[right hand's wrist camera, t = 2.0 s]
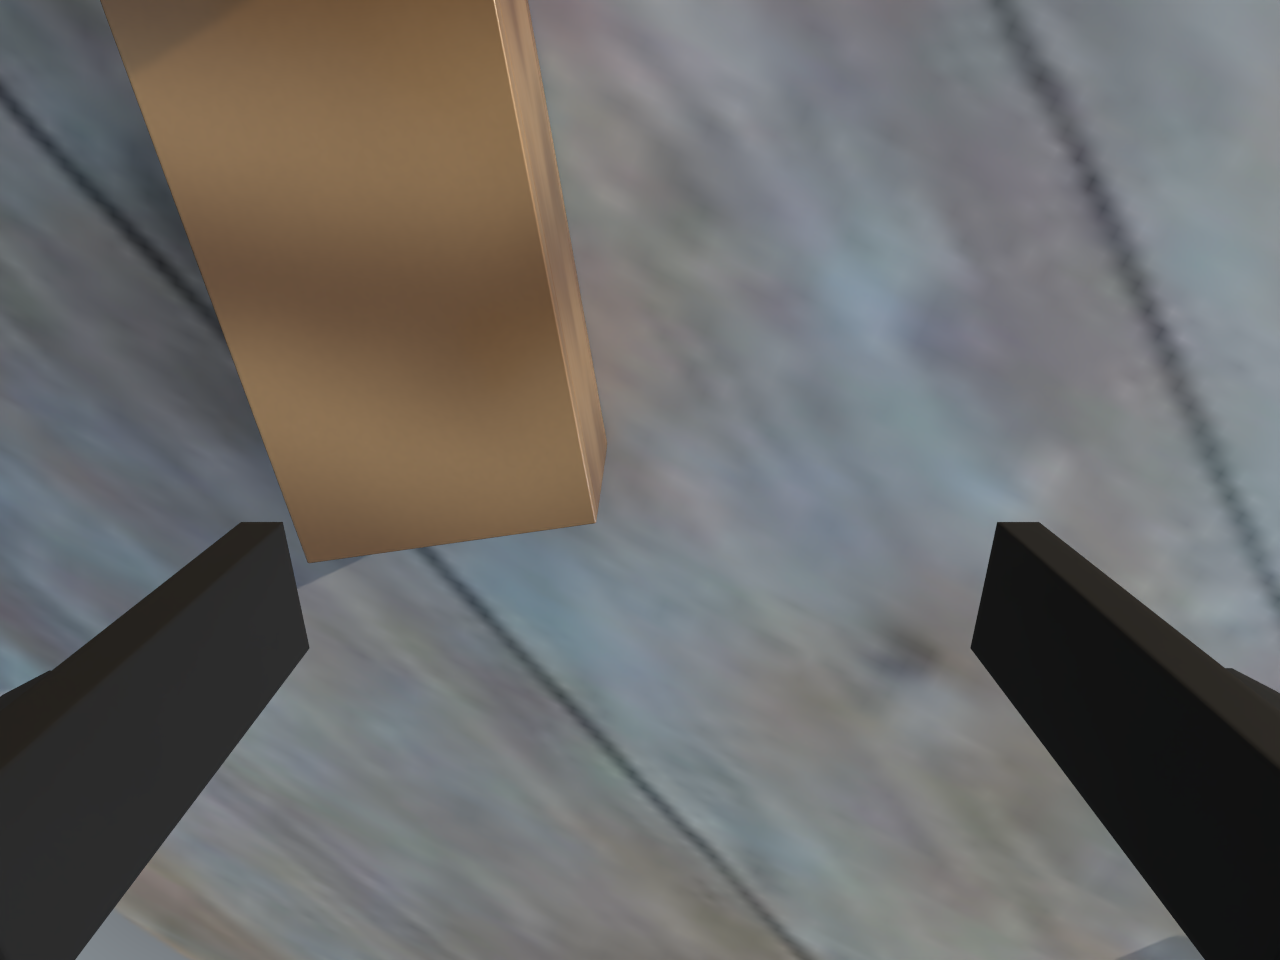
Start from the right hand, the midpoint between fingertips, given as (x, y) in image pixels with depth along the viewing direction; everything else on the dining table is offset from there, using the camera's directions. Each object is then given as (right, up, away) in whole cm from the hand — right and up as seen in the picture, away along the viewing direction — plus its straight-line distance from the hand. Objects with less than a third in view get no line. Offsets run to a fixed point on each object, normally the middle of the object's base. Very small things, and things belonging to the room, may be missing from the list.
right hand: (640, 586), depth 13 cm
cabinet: (-8, +11, +16) cm, 21 cm away
